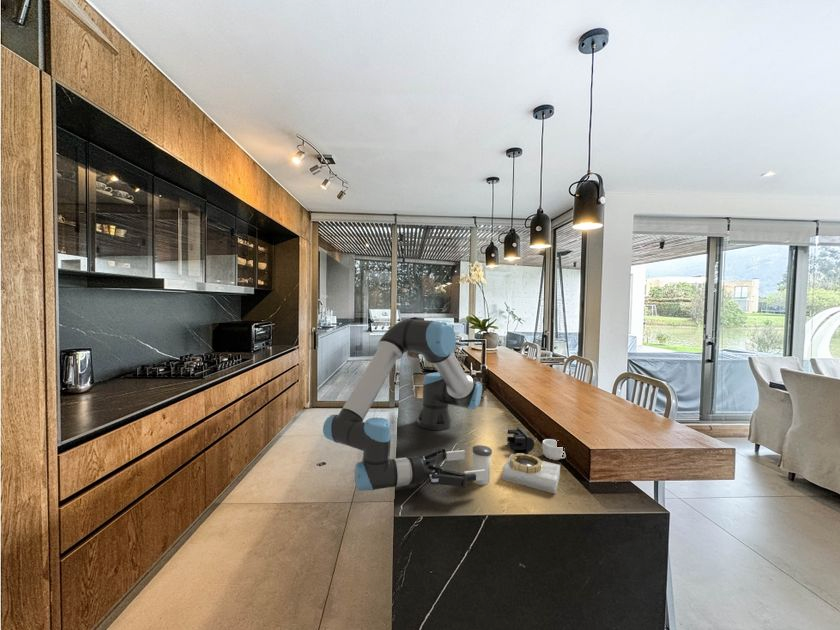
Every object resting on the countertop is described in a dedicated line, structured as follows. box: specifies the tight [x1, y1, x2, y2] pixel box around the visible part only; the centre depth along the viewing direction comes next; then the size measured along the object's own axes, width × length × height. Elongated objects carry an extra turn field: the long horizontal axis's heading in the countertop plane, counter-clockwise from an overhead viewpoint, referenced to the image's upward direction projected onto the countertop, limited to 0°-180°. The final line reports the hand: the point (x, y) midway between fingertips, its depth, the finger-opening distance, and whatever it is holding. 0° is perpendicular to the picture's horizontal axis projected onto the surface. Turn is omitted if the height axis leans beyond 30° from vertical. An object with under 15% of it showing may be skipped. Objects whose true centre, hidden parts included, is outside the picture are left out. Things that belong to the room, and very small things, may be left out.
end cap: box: [506, 427, 535, 454], centre depth 141 cm, size 10×7×7 cm
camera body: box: [501, 453, 561, 494], centre depth 117 cm, size 16×12×6 cm
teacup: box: [541, 438, 567, 461], centre depth 133 cm, size 10×8×5 cm
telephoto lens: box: [471, 444, 493, 486], centre depth 115 cm, size 6×6×10 cm
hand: (474, 463), depth 113 cm, fingers open, 13 cm apart
